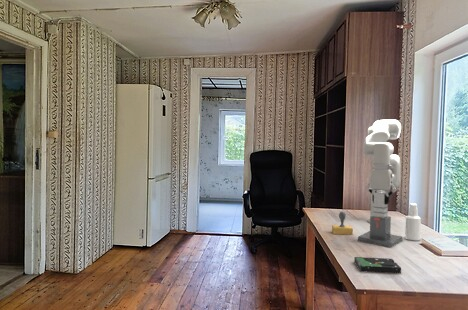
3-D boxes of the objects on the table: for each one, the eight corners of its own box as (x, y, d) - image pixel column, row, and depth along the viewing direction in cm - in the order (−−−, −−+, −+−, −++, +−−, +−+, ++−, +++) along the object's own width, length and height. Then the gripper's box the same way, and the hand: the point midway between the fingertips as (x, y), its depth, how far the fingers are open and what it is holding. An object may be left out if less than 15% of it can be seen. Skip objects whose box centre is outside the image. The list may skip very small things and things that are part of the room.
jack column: (376, 234, 169) (377, 191, 168) (387, 235, 165) (388, 192, 164) (372, 236, 165) (373, 192, 164) (383, 238, 161) (384, 193, 161)
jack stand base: (370, 234, 176) (370, 212, 176) (402, 240, 165) (402, 216, 165) (357, 240, 165) (358, 216, 164) (391, 247, 154) (392, 222, 153)
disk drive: (391, 265, 133) (353, 263, 134) (392, 258, 132) (353, 256, 134) (401, 275, 122) (360, 272, 124) (401, 267, 122) (360, 265, 124)
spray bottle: (418, 237, 170) (419, 203, 170) (421, 241, 164) (422, 205, 163) (404, 236, 173) (404, 202, 172) (406, 239, 166) (407, 204, 166)
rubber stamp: (333, 234, 176) (334, 212, 176) (331, 231, 182) (332, 210, 182) (352, 235, 175) (353, 212, 175) (350, 232, 181) (350, 210, 181)
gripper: (402, 167, 161) (401, 204, 161) (367, 166, 172) (366, 200, 173) (397, 168, 155) (396, 206, 156) (361, 166, 167) (360, 202, 168)
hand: (380, 203), depth 164 cm, fingers closed on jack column, 5 cm apart
